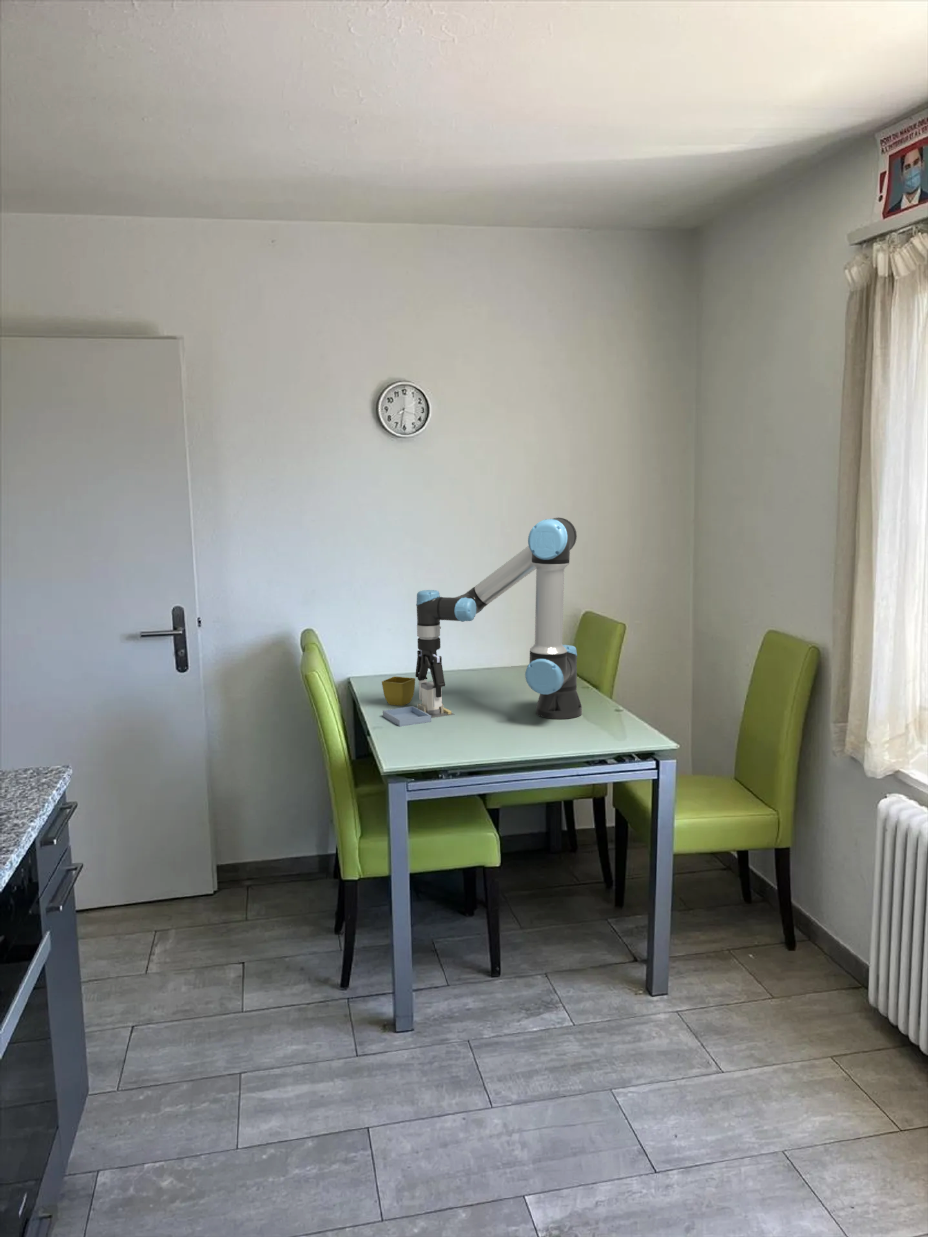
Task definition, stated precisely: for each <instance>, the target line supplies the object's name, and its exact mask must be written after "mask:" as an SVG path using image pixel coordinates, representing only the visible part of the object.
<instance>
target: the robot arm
mask: <svg viewBox="0 0 928 1237" xmlns="http://www.w3.org/2000/svg"><path fill="white" fill-rule="evenodd" d="M577 538H578V535H577V529H576V528H575V526H574V524H573V523H572V522H571V521H570V520H568V519H567V518H564V517H553V518H548V519H547V518H545V519H543V520H540V521H538V522H537V523H536V524H535V525H533V527H532V528H531V530H530V531H529V533H528V537H527V544H528V545H527V546H526V547H525V548H523V549H522V550H520V551H519V552H518V553H516V555H514V556H513V557H511V558H510V559H508V561H506V562H505V563H504V564H503V565H501V566H500V567H499V568H497V569H496V570H494V571H493V572H492V573H490V574H489V575H488V576H486V577H485V578H484V579H482V580H481V581H480V582H479V583H478V584H475V585H474V586H473V587H472V588H470V589H469V590H468V591H466V592H465V593H463V594H461V595H458V596H455V597H448V596H447V597H442V596H441V595H440V591H439V590H435V589H424V590H418V591H417V593H416V604H415V606H416V624H417V625H416V635H417V637H418V638H417V649H418V650H417V651H416V653H417V655H416V656H417V657H416V658H417V659H416V668H415V678H417V681H418V695H419V696H418V697H419V698H418V700H419V701H422V688H421V683H424V682H428V676H427V674H428V672H429V671H430V674H431V678H432V681H433V683H434V686H433V707H440V706H442V704H443V703H442V702H443V700H442V698H443V697H442V696H443V695H442V692H443V691H442V688H443V687H445V686H446V681H445V674H444V669H443V662H442V660H443V658H442V656H441V655H438V653H437V651H439V650H440V649H441V637H440V636H441V628H442V626H441V621H452V622H454V621H455V622H472V621H473V620H474V619H475V617H476V615H477V614H478V613H480V612H482V611H483V609H484V608H486V606H488V605H490V603H492V602H494V601H495V600H496V599H497V598H498V597H500V596H502V595H503V594H504V593H505V592H507V591H508V590H509V589H511V588H512V587H514V586H515V585H516V584H517V583H519V582H520V581H522V580H523V579H524V578H526V577H527V576H529V575H530V574H531V573H533V572H534V571H535V570H536V571H535V572H536V573H535V574H536V576H535V578H536V579H535V617H534V618H535V621H534V622H535V624H534V644H533V646H531V647H530V648H529V664H528V665H527V667H526V669H525V671H524V672H525V674H524V677H525V680H526V681H525V682H526V683H527V685H528V687H529V688H530V689H531V690H532V691H533V692H535V693H537V694H539V696H538V699H537V703H536V706H535V713H536V716H539V717H542V718H547V719H553V720H555V719H557V720H562V719H563V720H566V719H568V720H569V719H574V718H579V717H580V716H581V715H583V705H582V704H581V700H580V697H579V694H578V691H577V686H578V684H577V681H578V680H577V678H578V677H577V676H578V674H577V673H578V672H577V671H578V668H577V664H578V662H577V661H578V660H577V659H578V653H577V652H578V651H577V647H576V646H574V645H571V644H570V645H568V644H563V629H564V628H563V627H564V626H563V625H564V598H565V597H564V595H565V594H564V593H565V592H564V590H565V586H564V585H565V569H566V568H567V567H568V566H569V565H570V559H571V558H570V557H571V556H570V554H571V553H570V552H571V550H572V549H573V548H574V546H575V544H576V543H577V542H576V541H577Z"/></svg>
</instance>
